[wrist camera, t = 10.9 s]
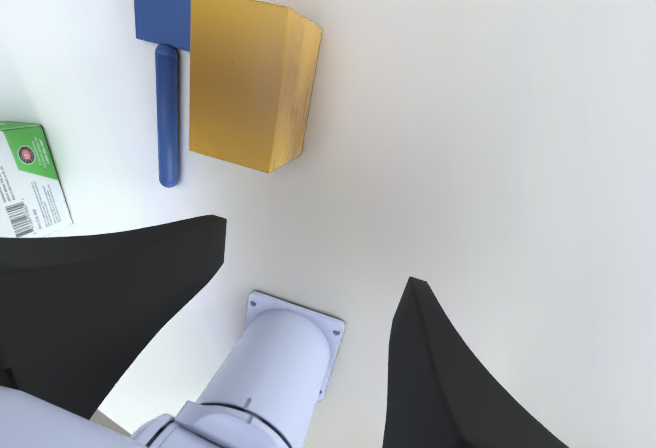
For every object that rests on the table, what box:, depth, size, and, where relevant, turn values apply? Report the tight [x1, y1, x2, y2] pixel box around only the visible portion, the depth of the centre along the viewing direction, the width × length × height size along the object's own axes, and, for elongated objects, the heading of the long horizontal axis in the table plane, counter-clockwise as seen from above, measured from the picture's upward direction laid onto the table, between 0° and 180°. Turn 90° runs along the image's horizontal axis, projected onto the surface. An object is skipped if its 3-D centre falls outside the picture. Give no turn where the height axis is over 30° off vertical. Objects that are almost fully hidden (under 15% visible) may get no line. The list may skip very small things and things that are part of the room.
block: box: [189, 0, 322, 173], centre depth 17 cm, size 7×4×5 cm, turn 168°
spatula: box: [134, 0, 191, 188], centre depth 20 cm, size 15×4×1 cm, turn 168°
